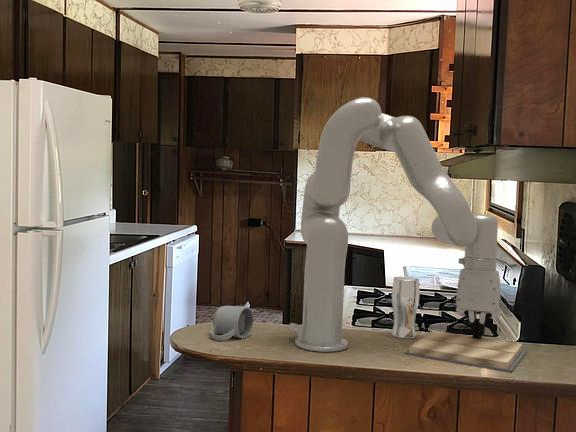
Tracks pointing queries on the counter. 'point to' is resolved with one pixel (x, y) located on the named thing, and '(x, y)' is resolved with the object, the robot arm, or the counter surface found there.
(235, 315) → the ceramic mug
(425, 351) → the board
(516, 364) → the underlay mat
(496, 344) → the loose plank
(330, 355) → the counter surface
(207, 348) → the counter surface
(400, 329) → the beer glass
